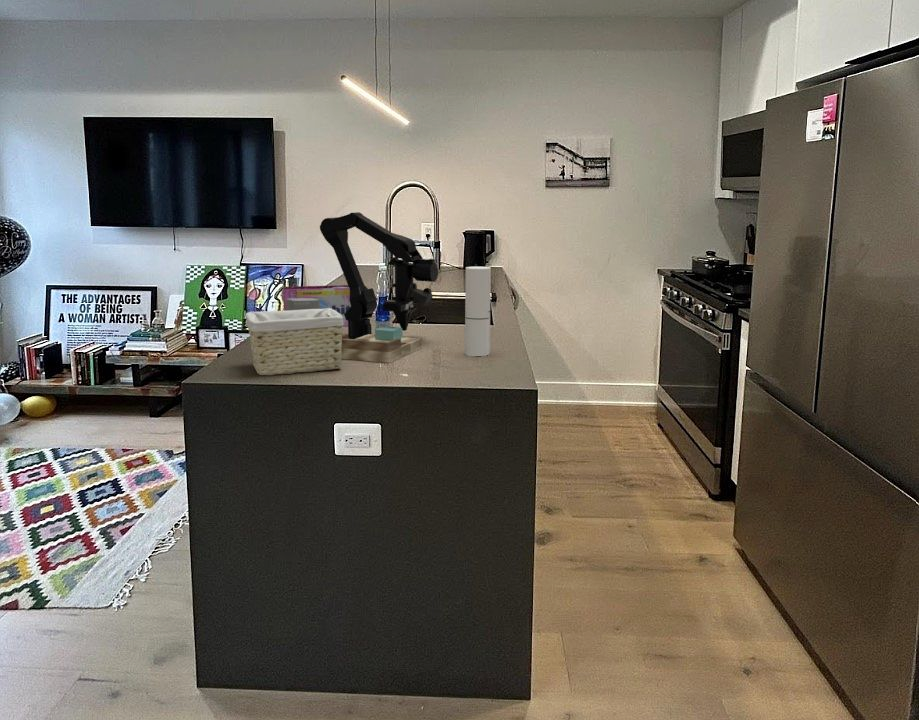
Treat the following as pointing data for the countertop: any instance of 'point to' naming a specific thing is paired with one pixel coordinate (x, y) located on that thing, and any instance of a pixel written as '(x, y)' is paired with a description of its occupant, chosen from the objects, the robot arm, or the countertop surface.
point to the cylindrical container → (477, 311)
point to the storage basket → (295, 340)
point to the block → (388, 333)
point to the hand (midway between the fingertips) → (404, 330)
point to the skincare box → (302, 303)
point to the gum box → (322, 297)
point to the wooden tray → (378, 348)
